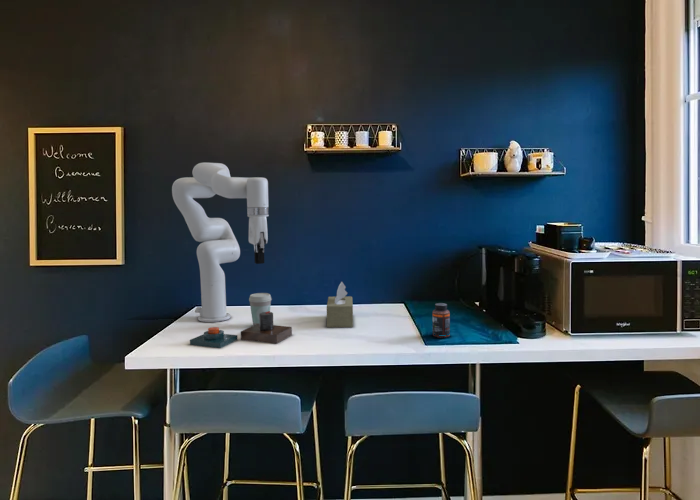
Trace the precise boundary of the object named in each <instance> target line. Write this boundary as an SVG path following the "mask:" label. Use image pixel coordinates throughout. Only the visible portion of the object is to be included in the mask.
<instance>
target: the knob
mask: <svg viewBox="0 0 700 500" xmlns="http://www.w3.org/2000/svg"><path fill="white" fill-rule="evenodd" d="M259 325H260V330H262V331H268V330H272V329H274V326H273V325H274V312H272V311H271V310H270V311H268V312H262V313H259Z"/></svg>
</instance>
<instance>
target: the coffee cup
mask: <svg viewBox="0 0 700 500" xmlns="http://www.w3.org/2000/svg"><path fill="white" fill-rule="evenodd" d="M272 300H273V298H272V296H271V294H270V293H268V292H257V293H251V294H250V295H249V298H248V301H249V306H250V313H251V319H252V326H254V325H256V324H259V313H262V312H268V311H270V312H271V305H272V304H271V303H272Z"/></svg>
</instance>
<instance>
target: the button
mask: <svg viewBox="0 0 700 500" xmlns="http://www.w3.org/2000/svg"><path fill="white" fill-rule="evenodd" d="M219 330H220V327H218V326H211V327H209V328H207V331H208V334H217V333H219Z"/></svg>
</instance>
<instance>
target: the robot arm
mask: <svg viewBox="0 0 700 500" xmlns="http://www.w3.org/2000/svg"><path fill="white" fill-rule="evenodd" d="M171 195H172V196H171V197H172V199H173V202H174V204H175V205H176V207H177V209H178V210H179V212H180V213H181V215H182V216H183V218H184V221H185V223H186V224H187V228H188V230H189V232H190V234H191V237H192V238H193V240H194V241H196V242H199V243H200V244H199V245H198V246H197V248H196V258H197V261H198V266H199V277H200V278H199V279H200V294H201V295H200V298H201V300H200V301H201V306H196V308H195V309H194V313H195V314H199V315H198V317H197V320H198V321H200V322H204V323H218V322H224V321H227V320H229V319H230V318H231V313H228V312H227V293H226V274H225V271H224V270H223V268H222V267H221V264H227V263H233V262H234V263H235V262H236V261H237V260H238V259H239V258H240V256H241V248H240V245H239V242H238V240H237V237H236V236H235V234H234V232H233V229H232V227H231V226H230V224H229V222H228V221H227V220H225V218H222V217H208V215H207V213H206V211H205V209H204V208H203V206H202V205H201V204H200V203H199V202H197V201H196V200H195V199H209V198H213V197H214V196H216V195H218V196H220V197H223V198H226V199H246V213H247V218H248V243H249V244H251V245H253V251H254V253H253V255H254V264H256V265H263V264H265V245H267V244H268V240H269V238H268V237H269V236H268V235H269V234H268V221H267V219H268V217H269V216H270V208H269V205H270V204H269V181H268V179H267V178H266V177H259V176H257V177H243V176H242V177H241V176H240V177H239V176H231V174H230V170H229V168H228V166H227V165H226V164H224V163H220V162H199V163H197V164H195V165H194V166H193V169H192V177H191V176H189V177H188V176H186V177H180V178H178V179H176V180H175V181H173V183H172V186H171Z"/></svg>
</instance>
